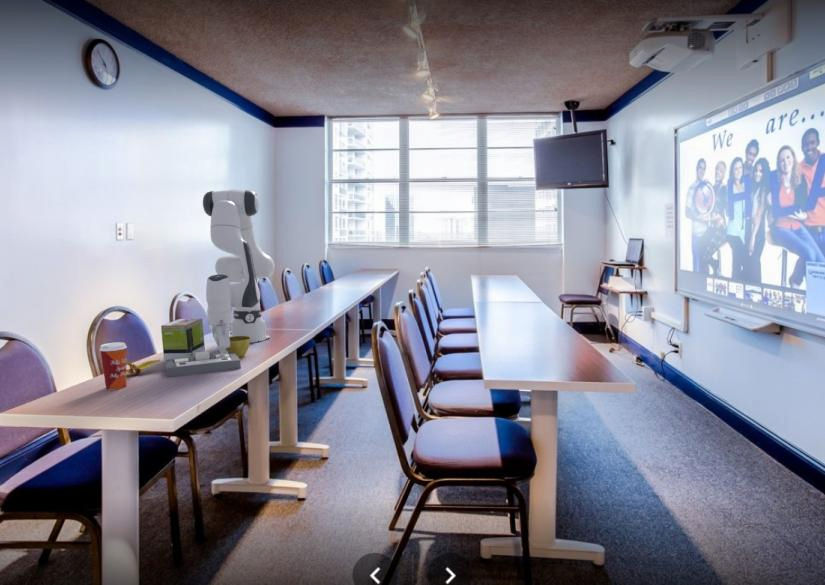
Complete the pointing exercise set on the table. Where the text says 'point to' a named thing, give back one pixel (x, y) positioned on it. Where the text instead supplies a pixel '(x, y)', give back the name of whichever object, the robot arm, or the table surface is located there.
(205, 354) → the button middle
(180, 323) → the tea box
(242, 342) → the flower pot
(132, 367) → the origami crane
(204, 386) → the table surface
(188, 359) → the button
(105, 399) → the table surface
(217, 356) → the button
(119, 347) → the paper cup
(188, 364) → the button board
